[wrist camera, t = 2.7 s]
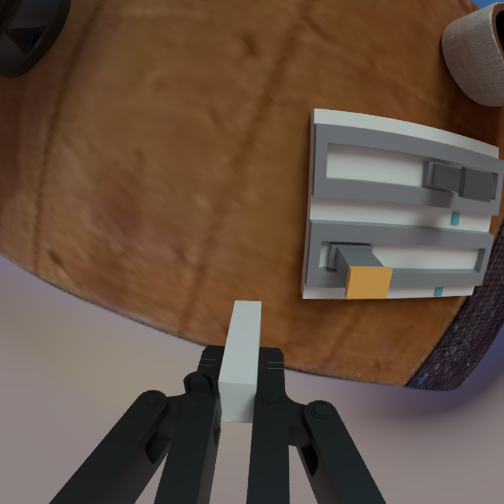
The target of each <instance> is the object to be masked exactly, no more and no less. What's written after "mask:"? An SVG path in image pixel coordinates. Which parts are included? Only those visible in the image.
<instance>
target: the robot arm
mask: <svg viewBox="0 0 504 504" xmlns="http://www.w3.org/2000/svg"><path fill="white" fill-rule="evenodd" d="M70 3H71V0H0V76H1V77H16V76H19V75H21V74H23V73H24V72H26V71H27V70H29V69H30V68H31V67H32V66H33V65H35V64H36V63H37V62H38V61H39V59H40V58H41V57H42V56H43V55H44V54H45V53H46V51H47V50H48V49H49V47H50V46H51V44H52V43H53V42H54V40H55V38H56V37H57V35H58V33H59V32H60V30H61V28H62V26H63V24H64V22H65V19H66V17H67V14H68V11H69V8H70ZM260 325H261V301H236V300H235V304H234V309H233V313H232V318H231V323H230V327H229V332H228V337H227V342H226V346H216V345H208V346H207V347H206V348H205V350H203V353H202V356H201V359H200V362H199V365H198V369H197V371H196V372H193V373H190V374H188V375H187V376H186V377H185V378H184V380H183V381H184V386H185V391H186V393H184V394H182V395H179V396H171V397H166V396H165V394H163V393H162V392H160V391H157V390H149V391H146V392H143V393H142V394H141V395H140V396H139V397H138V398H137V399H136V401H135V402H134V403H133V404H132V405H131V406H130V408H129V409H128V410H127V411H126V413H125V414H124V415H123V416H122V417H121V419H120V420H119V421H118V422H117V423H116V424H115V426H114V427H113V428H112V429H111V431H110V432H109V433H108V434H107V435H106V436H105V438H104V439H103V440H102V441H101V442H100V444H99V445H98V446H97V447H96V448H95V450H94V451H93V452H92V453H91V454H90V456H89V457H88V458H87V459H86V460H85V462H84V463H83V464H82V465H81V466H80V468H79V469H78V470H77V471H76V472H75V473H74V475H73V476H72V477H71V478H70V479H69V480H68V482H67V483H66V484H65V485H64V487H63V488H62V489H61V490H60V491H59V492H58V493H57V495H56V496H55V497H54V498H53V499H52V501H51V502H50V503H49V504H134V503H135V502H136V500H137V499H138V497H139V496H140V494H141V493H142V492H143V490H144V488H145V487H146V485H147V484H148V482H149V481H150V479H151V478H152V476H153V475H154V473H155V472H156V470H157V469H158V467H159V466H160V464H161V462H162V461H163V459H164V458H165V456H166V455H167V453H168V455H167V458H166V462H165V466H164V469H163V472H162V476H161V479H160V483H159V486H158V490H157V494H156V497H155V501H154V504H209V501H210V494H211V488H212V482H213V476H214V470H215V463H216V457H217V451H218V445H219V439H220V433H221V428H220V422H221V417H222V421H229V422H242V423H253V426H252V427H253V428H252V440H251V453H250V465H249V477H248V489H247V502H246V504H290V502H289V501H290V500H289V498H290V495H289V448H288V447H289V445H291V446H296V447H297V450H298V453H299V455H300V458H301V461H302V464H303V466H304V469H305V472H306V474H307V477H308V479H309V482H310V485H311V487H312V490H313V493H314V495H315V498H316V500H317V503H318V504H386V502H385V501H384V499H383V497H382V495H381V493H380V491H379V489H378V487H377V485H376V484H375V482H374V480H373V478H372V476H371V474H370V472H369V470H368V469H367V467H366V465H365V463H364V461H363V459H362V457H361V456H360V453H359V452H358V450H357V448H356V446H355V444H354V442H353V440H352V438H351V437H350V435H349V433H348V431H347V429H346V427H345V425H344V423H343V421H342V420H341V418H340V416H339V414H338V412H337V410H336V408H335V407H334V406H333V405H332V404H331V403H329V402H327V401H323V400H316V401H313V402H310V403H309V404H308V405H304V404H300V403H297V402H294V401H293V400H291V399H290V398H288V396H287V394H286V392H285V377H284V356H283V353H282V352H281V350H280V349H279V348H266V347H260Z"/></svg>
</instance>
